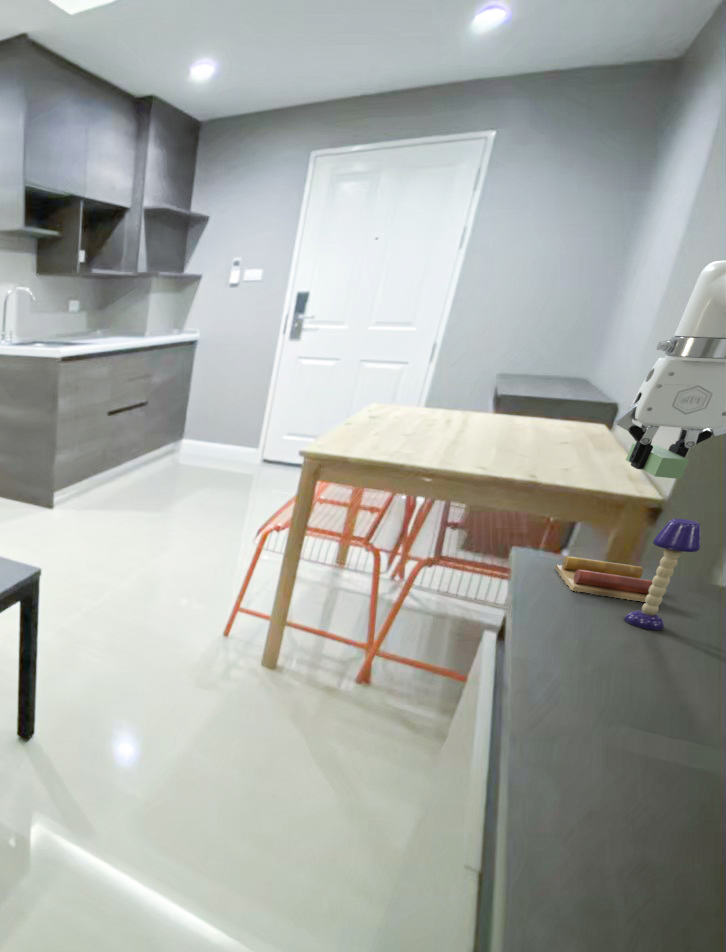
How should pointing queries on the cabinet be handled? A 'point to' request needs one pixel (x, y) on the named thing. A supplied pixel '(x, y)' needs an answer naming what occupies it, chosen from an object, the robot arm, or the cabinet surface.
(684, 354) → the robot arm
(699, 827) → the cabinet surface
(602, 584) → the rod stand
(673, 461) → the bar
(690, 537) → the toy lamp
